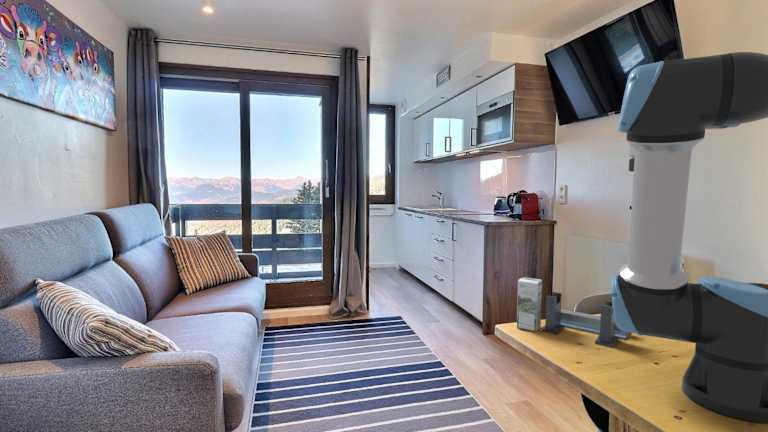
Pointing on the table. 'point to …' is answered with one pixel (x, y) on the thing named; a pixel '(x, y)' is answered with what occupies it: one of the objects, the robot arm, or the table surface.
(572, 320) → the rail
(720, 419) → the table surface
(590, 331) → the mat
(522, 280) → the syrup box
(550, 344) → the table surface
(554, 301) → the post far
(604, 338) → the post near
